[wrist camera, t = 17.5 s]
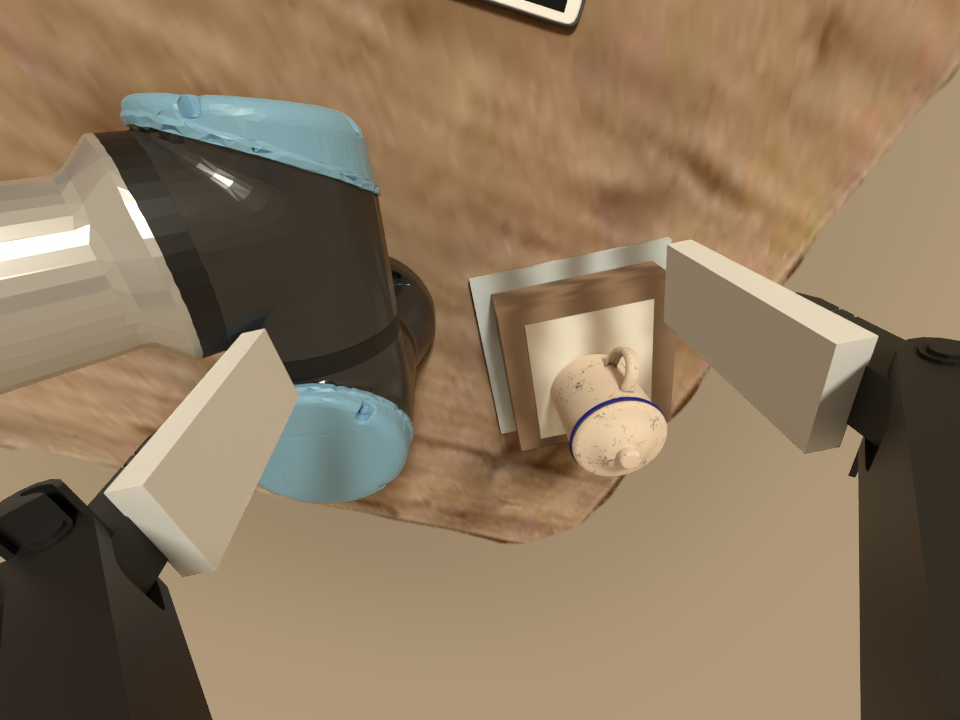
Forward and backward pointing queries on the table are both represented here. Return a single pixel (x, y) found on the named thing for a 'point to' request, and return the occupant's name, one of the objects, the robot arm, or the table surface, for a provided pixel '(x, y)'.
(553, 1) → the cell phone
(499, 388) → the plinth
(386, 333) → the robot arm
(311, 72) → the table surface
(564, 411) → the teacup with lid
